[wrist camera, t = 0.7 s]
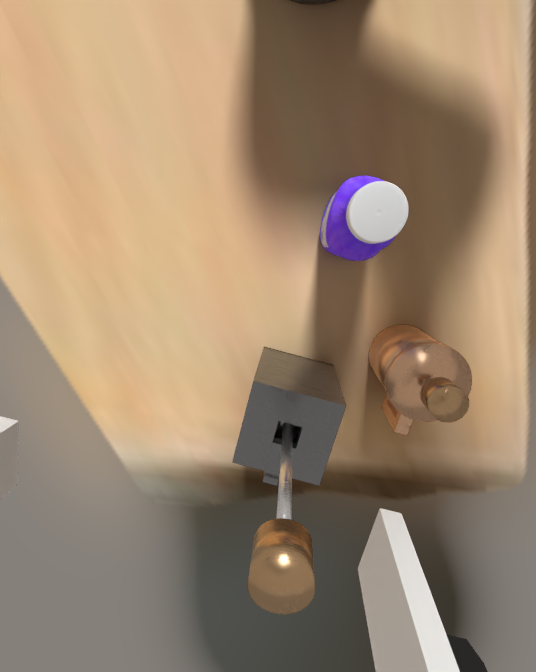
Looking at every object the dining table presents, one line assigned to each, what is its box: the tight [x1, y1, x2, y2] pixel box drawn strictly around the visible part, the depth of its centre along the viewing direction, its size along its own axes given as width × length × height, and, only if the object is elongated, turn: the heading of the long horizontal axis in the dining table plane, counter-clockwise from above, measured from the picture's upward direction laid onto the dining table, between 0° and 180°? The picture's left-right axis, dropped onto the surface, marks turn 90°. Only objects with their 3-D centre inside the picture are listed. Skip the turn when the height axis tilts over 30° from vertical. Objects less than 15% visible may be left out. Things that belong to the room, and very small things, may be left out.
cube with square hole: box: [233, 347, 346, 486], centre depth 41 cm, size 12×9×12 cm
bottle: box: [320, 176, 409, 261], centre depth 33 cm, size 7×6×17 cm
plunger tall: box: [248, 421, 315, 614], centre depth 29 cm, size 7×7×19 cm
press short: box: [369, 325, 472, 435], centre depth 38 cm, size 11×8×15 cm
